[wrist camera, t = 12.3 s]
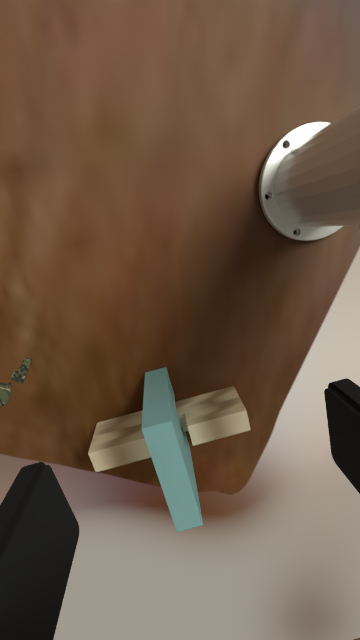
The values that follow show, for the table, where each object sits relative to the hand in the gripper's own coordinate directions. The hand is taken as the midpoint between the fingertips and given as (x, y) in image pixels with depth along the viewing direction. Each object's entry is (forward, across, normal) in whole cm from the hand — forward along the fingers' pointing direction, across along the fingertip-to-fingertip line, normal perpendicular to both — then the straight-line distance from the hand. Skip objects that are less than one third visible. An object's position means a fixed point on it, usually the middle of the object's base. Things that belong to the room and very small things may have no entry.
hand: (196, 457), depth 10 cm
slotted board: (+28, +4, +17) cm, 33 cm away
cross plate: (+28, +4, +17) cm, 33 cm away
